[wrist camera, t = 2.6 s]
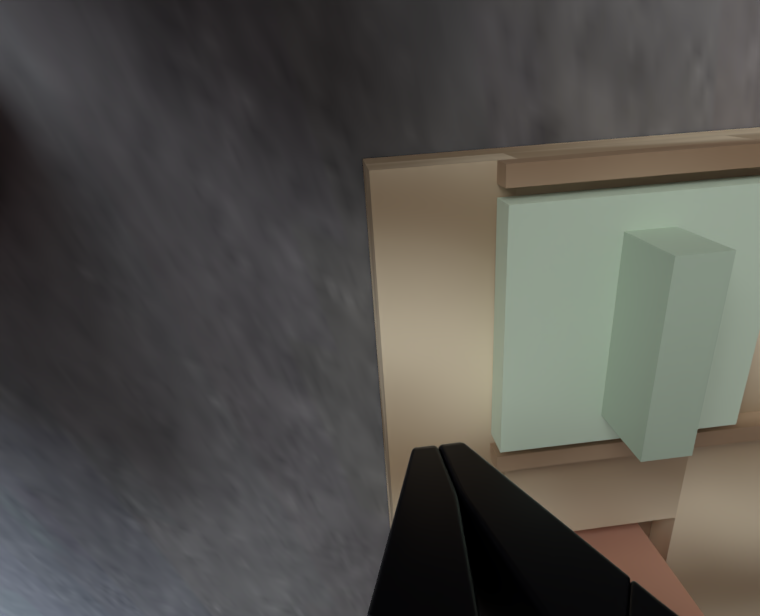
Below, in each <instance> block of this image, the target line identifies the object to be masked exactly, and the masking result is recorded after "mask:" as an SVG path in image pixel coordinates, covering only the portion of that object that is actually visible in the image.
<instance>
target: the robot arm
mask: <svg viewBox="0 0 760 616" xmlns="http://www.w3.org/2000/svg"><path fill="white" fill-rule="evenodd" d="M367 616H679V615H677V614H676V613H675V612H674V611H672V610H671V609H670V608H668V607H667V606H666V605H665V604H663V603H662V602H661V601H659V600H658V599H657V598H656V597H654V596H653V595H652V594H651V593H649V592H648V591H647V590H646V589H645V588H643V587H642V586H641V585H640V584H638V583H637V582H636V581H631V583H630V577H629V576H628V575H627V574H626V573H624V572H623V571H622V570H621V569H619V568H618V567H617V566H616V565H615V564H613V563H612V562H611V561H610V560H608V559H607V558H606V557H605V556H603V555H602V554H601V553H600V552H598V551H597V550H596V549H595V548H594V547H592V546H591V545H590V544H589V543H587V542H586V541H585V540H584V539H582V538H581V537H580V536H579V535H577V534H576V533H575V532H574V531H573V530H571V529H570V528H569V527H568V526H566V525H565V524H564V523H563V522H561V521H560V520H559V519H558V518H556V517H555V516H554V515H553V514H552V513H550V512H549V511H548V510H547V509H545V508H544V507H543V506H542V505H540V504H539V503H538V502H537V501H536V500H534V499H533V498H532V497H531V496H529V495H528V494H527V493H526V492H524V491H523V490H522V489H521V488H519V487H518V486H517V485H516V484H515V483H513V482H512V481H511V480H510V479H508V478H507V477H506V476H505V475H503V474H502V473H501V472H500V471H498V470H497V469H496V468H495V467H494V466H492V465H491V464H490V463H489V462H487V461H486V460H485V459H484V458H482V457H481V456H480V455H479V454H477V453H476V452H475V451H474V450H473V449H471V448H470V447H469V446H468V445H466V444H465V443H463V442H456V443H448V444H441V445H440V446H439V448H438V447H437V446H435V445H431V446H422V447H415V448H413V450H412V452H411V455H410V459H409V462H408V466H407V470H406V474H405V477H404V481H403V485H402V488H401V492H400V496H399V500H398V503H397V507H396V511H395V514H394V518H393V522H392V526H391V529H390V533H389V537H388V540H387V544H386V548H385V552H384V555H383V559H382V563H381V566H380V570H379V574H378V578H377V581H376V585H375V589H374V592H373V596H372V600H371V604H370V607H369V611H368V615H367Z"/></svg>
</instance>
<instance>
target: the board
mask: <svg viewBox="0 0 760 616" xmlns="http://www.w3.org/2000/svg"><path fill="white" fill-rule="evenodd" d="M363 172H364V186H365V199H366V213H367V226H368V239H369V253H370V266H371V279H372V293H373V306H374V319H375V333H376V346H377V360H378V373H379V386H380V400H381V413H382V426H383V440H384V453H385V467H386V480H387V493H388V507H389V520H390V529H391V526H392V522H393V518H394V514H395V511H396V507H397V503H398V500H399V496H400V492H401V488H402V485H403V481H404V477H405V474H406V470H407V466H408V462H409V459H410V455H411V452H412V450H413V448H415V447H422V446H431V445H435V446H437V447H438V448H439V446H440V445H441V444H448V443H456V442H463V443H465V444H466V445H468V446H469V447H470V448H471V449H473V450H474V451H475V452H476V453H477V454H479V455H480V456H481V457H482V458H484V459H485V460H486V461H487V462H489V463H490V464H491V465H492V466H494V467H495V468H496V469H497V470H498V471H500V472H501V473H502V474H503V475H505V476H506V477H507V478H508V479H510V480H511V481H512V482H513V483H515V484H516V485H517V486H518V487H519V488H521V489H522V490H523V491H524V492H526V493H527V494H528V495H529V496H531V497H532V498H533V499H534V500H536V501H537V502H538V503H539V504H540V505H542V506H543V507H544V508H545V509H547V510H548V511H549V512H550V513H552V514H553V515H554V516H555V517H556V518H558V519H559V520H560V521H561V522H563V523H564V524H565V525H566V526H568V527H569V528H570V529H571V530H573V531H578V530H586V529H593V528H601V527H608V526H616V525H623V524H631V523H638V524H639V526H640V527H641V528H642V530H643V531H644V533H645V534H646V535H647V537H648V538H649V539H650V541H651V542H652V544H653V545H654V546H655V548H656V549H657V551H658V552H659V553H660V555H661V556H662V557H663V559H664V560H665V562H666V563H667V564H668V566H669V567H670V569H671V570H672V571H673V573H674V574H675V575H676V577H677V578H678V580H679V581H680V582H681V584H682V585H683V587H684V588H685V589H686V591H687V592H688V593H689V595H690V596H691V598H692V599H693V600H694V602H695V603H696V605H697V606H698V607H699V609H700V610H701V611H702V613H703V614H704V616H760V330H759V334H758V338H757V342H756V346H755V350H754V354H753V358H752V362H751V366H750V370H749V374H748V378H747V382H746V386H745V390H744V394H743V398H742V402H741V406H740V410H739V414H738V418H737V422H736V424H734V425H726V426H718V427H709V428H701V429H698V430H697V435H696V439H695V444H694V449H693V453H692V456H685V457H677V458H669V459H661V460H653V461H645V462H640V461H639V459H638V458H637V457H636V456H635V455H634V453H633V452H632V451H631V450H630V449H629V448H628V446H627V445H626V444H625V443H624V442H623V440H622V439H621V438H618V439H610V440H601V441H593V442H585V443H576V444H568V445H560V446H552V447H543V448H535V449H527V450H518V451H510V452H502V453H500V451H499V449H498V447H497V445H496V443H495V441H494V439H493V436H492V434H491V419H492V380H493V340H494V301H495V261H496V222H497V198H498V197H510V196H521V195H533V194H544V193H556V192H568V191H579V190H591V189H603V188H614V187H626V186H637V185H649V184H661V183H672V182H684V181H695V180H707V179H719V178H730V177H742V176H753V175H760V127H755V128H743V129H730V130H718V131H705V132H693V133H680V134H667V135H655V136H642V137H630V138H617V139H604V140H592V141H579V142H567V143H554V144H542V145H529V146H516V147H504V148H491V149H479V150H466V151H453V152H441V153H428V154H416V155H403V156H391V157H378V158H365V159H363Z"/></svg>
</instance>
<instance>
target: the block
mask: <svg viewBox="0 0 760 616" xmlns="http://www.w3.org/2000/svg"><path fill="white" fill-rule="evenodd" d="M574 532H575V533H576V534H577V535H579V536H580V537H581V538H582V539H584V540H585V541H586V542H587V543H589V544H590V545H591V546H592V547H594V548H595V549H596V550H597V551H598V552H600V553H601V554H602V555H603V556H605V557H606V558H607V559H608V560H610V561H611V562H612V563H613V564H615V565H616V566H617V567H618V568H619V569H621V570H622V571H623V572H624V573H626V574H627V575H628V576H629V577H630V583H631V581H636V582H637V583H638V584H640V585H641V586H642V587H643V588H645V589H646V590H647V591H648V592H649V593H651V594H652V595H653V596H654V597H656V598H657V599H658V600H659V601H661V602H662V603H663V604H665V605H666V606H667V607H668V608H670V609H671V610H672V611H674V612H675V613H676V614H677V615H679V616H704V614H703V613H702V611H701V610H700V609H699V607H698V606H697V605H696V603H695V602H694V600H693V599H692V598H691V596H690V595H689V593H688V592H687V591H686V589H685V588H684V587H683V585H682V584H681V582H680V581H679V580H678V578H677V577H676V575H675V574H674V573H673V571H672V570H671V569H670V567H669V566H668V564H667V563H666V562H665V560H664V559H663V557H662V556H661V555H660V553H659V552H658V551H657V549H656V548H655V546H654V545H653V544H652V542H651V541H650V539H649V538H648V537H647V535H646V534H645V533H644V531H643V530H642V528H641V527H640V526H639V524H638V523H631V524H623V525H616V526H608V527H601V528H593V529H586V530H578V531H574Z"/></svg>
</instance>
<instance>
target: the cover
mask: <svg viewBox="0 0 760 616" xmlns="http://www.w3.org/2000/svg"><path fill="white" fill-rule="evenodd" d="M759 330H760V175H753V176H742V177H730V178H719V179H707V180H695V181H684V182H672V183H661V184H649V185H637V186H626V187H614V188H603V189H591V190H579V191H568V192H556V193H544V194H533V195H521V196H510V197H498V198H497V222H496V261H495V301H494V340H493V380H492V419H491V434H492V436H493V439H494V441H495V443H496V445H497V447H498V449H499V451H500V453H502V452H510V451H518V450H527V449H535V448H543V447H552V446H560V445H568V444H576V443H585V442H593V441H601V440H610V439H618V438H621V439H622V440H623V442H624V443H625V444H626V445H627V446H628V448H629V449H630V450H631V451H632V452H633V453H634V455H635V456H636V457H637V458H638V459H639V461H640V462H645V461H653V460H661V459H669V458H677V457H685V456H692V453H693V449H694V444H695V439H696V435H697V430H698V429H701V428H709V427H718V426H726V425H734V424H736V422H737V418H738V414H739V410H740V406H741V402H742V398H743V394H744V390H745V386H746V382H747V378H748V374H749V370H750V366H751V362H752V358H753V354H754V350H755V346H756V342H757V338H758V334H759Z"/></svg>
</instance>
